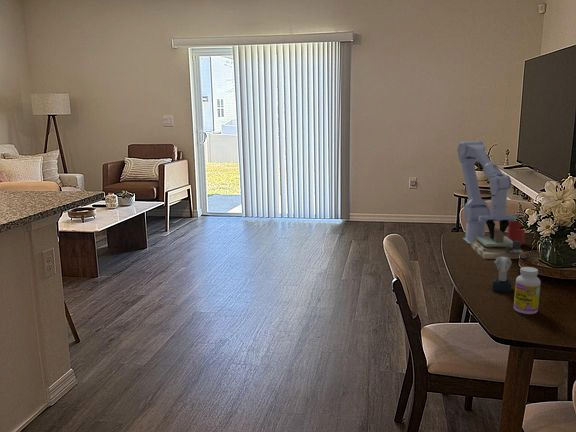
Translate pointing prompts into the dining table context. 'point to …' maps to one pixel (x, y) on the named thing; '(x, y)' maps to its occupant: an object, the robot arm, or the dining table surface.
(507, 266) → the white and black piece
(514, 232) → the beer can
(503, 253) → the picture frame
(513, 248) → the latch bolt
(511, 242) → the cover
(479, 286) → the dining table surface
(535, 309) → the supplement bottle
